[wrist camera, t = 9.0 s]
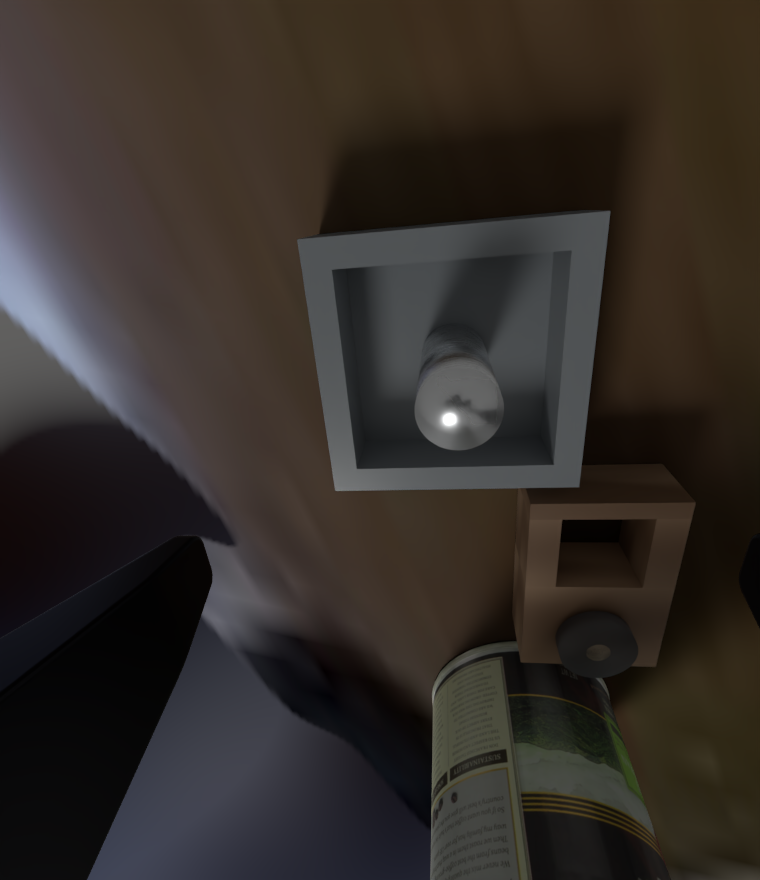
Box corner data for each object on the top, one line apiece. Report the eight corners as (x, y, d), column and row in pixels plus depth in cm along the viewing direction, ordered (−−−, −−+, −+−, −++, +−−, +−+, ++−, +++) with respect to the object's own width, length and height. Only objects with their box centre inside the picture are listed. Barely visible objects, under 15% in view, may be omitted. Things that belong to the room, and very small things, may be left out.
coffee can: (596, 626, 25) (756, 1054, 12) (617, 745, 29) (755, 1159, 16) (409, 651, 27) (383, 1030, 15) (453, 758, 31) (463, 1126, 19)
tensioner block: (631, 616, 24) (665, 686, 21) (512, 613, 25) (523, 681, 22) (662, 463, 20) (709, 518, 17) (519, 466, 21) (535, 519, 18)
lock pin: (485, 383, 19) (503, 448, 14) (423, 386, 19) (417, 451, 14) (485, 321, 18) (504, 365, 13) (419, 325, 18) (411, 370, 13)
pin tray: (561, 450, 21) (579, 487, 18) (347, 455, 22) (335, 490, 19) (582, 209, 16) (610, 210, 14) (318, 234, 18) (297, 239, 15)
